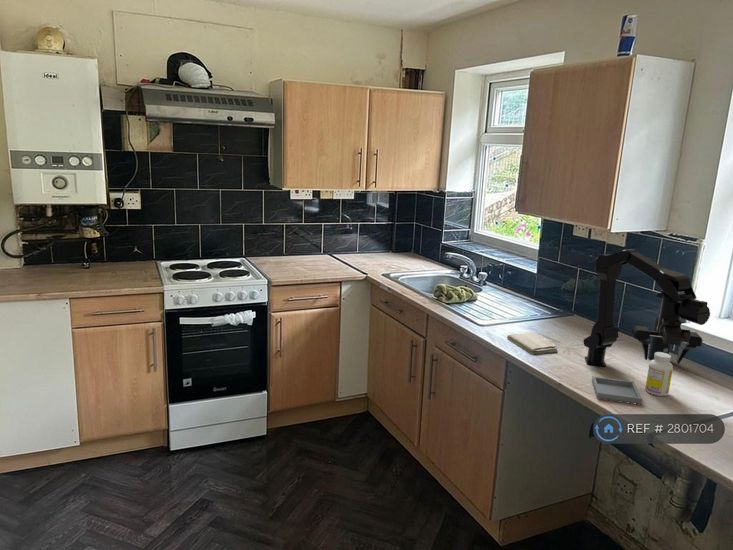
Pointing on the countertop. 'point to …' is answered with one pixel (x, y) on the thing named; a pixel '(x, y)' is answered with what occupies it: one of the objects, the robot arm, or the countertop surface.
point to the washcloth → (533, 343)
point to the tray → (616, 390)
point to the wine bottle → (657, 342)
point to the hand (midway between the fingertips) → (661, 361)
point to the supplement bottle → (659, 374)
